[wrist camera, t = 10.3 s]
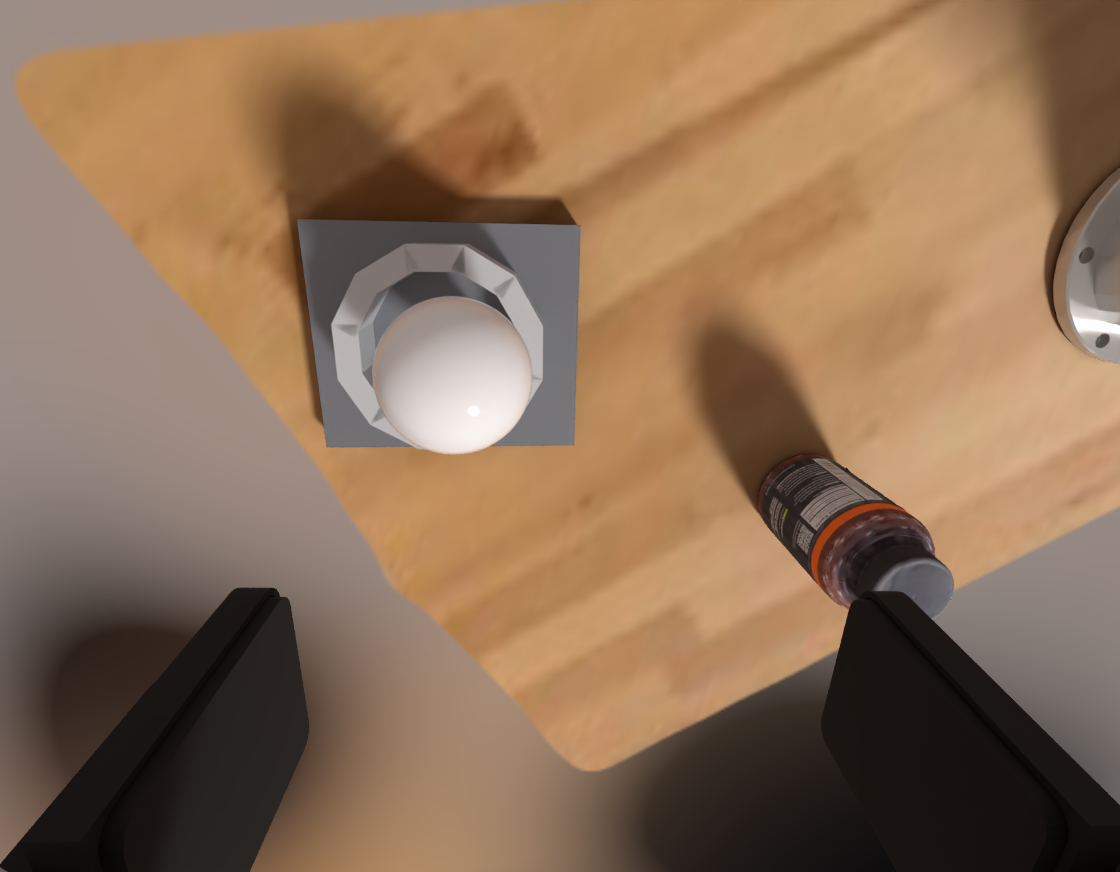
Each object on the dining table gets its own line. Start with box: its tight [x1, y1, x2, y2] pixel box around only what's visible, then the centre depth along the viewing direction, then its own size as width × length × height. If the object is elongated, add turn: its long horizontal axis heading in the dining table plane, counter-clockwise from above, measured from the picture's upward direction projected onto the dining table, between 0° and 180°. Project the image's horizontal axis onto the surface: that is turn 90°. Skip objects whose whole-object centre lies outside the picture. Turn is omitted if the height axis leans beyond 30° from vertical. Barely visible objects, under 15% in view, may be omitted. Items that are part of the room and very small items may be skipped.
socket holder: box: [297, 219, 581, 449], centre depth 30 cm, size 14×12×4 cm
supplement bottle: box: [758, 454, 954, 620], centre depth 31 cm, size 6×6×11 cm
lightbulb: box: [372, 296, 533, 454], centre depth 25 cm, size 6×6×11 cm
